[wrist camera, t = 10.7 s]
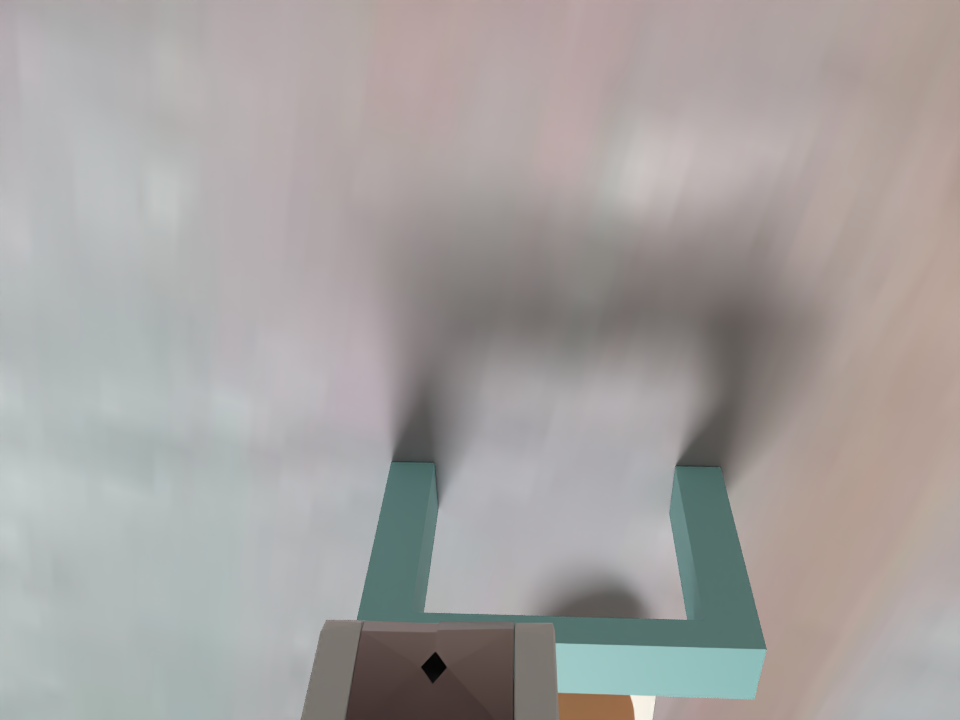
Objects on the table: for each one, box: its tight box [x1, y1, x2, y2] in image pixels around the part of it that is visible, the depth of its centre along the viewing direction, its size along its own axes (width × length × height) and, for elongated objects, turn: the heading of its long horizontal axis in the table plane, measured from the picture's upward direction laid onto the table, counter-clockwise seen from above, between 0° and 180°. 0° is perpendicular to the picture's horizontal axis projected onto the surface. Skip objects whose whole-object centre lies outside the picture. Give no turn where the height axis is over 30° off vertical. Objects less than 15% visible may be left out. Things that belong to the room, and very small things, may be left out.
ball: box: [558, 693, 635, 720], centre depth 45 cm, size 6×6×6 cm
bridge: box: [357, 462, 767, 699], centre depth 36 cm, size 3×15×10 cm, turn 92°
